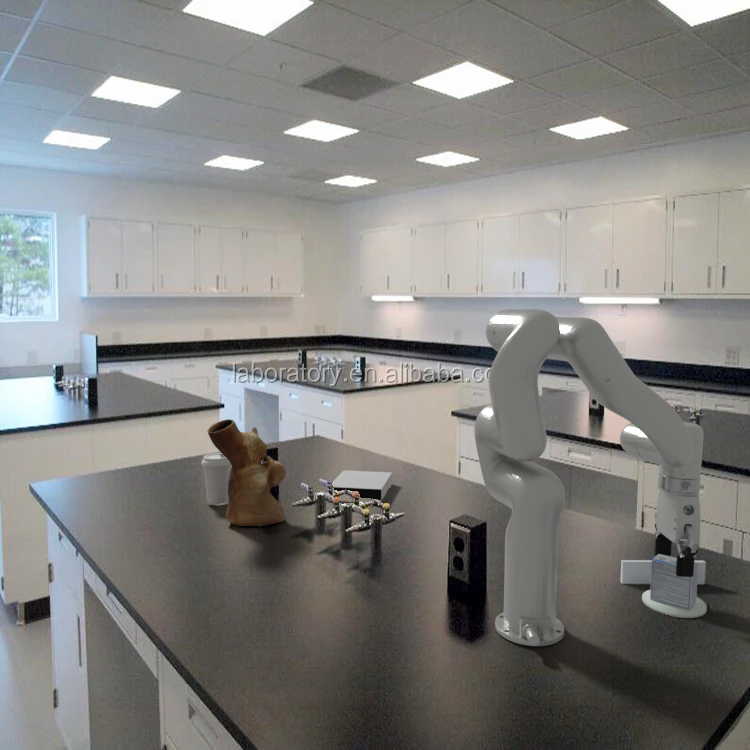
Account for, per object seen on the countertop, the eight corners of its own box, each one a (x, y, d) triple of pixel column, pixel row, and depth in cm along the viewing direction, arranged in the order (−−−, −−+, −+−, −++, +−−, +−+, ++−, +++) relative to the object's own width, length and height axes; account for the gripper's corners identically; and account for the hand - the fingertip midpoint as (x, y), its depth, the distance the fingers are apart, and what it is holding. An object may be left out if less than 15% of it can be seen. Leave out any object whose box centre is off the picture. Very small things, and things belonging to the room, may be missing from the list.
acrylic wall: (704, 584, 140) (705, 562, 139) (622, 583, 140) (622, 561, 139) (702, 582, 141) (703, 560, 140) (620, 581, 141) (621, 560, 140)
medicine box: (696, 603, 129) (698, 562, 128) (690, 611, 126) (692, 569, 125) (656, 592, 134) (657, 552, 133) (649, 599, 131) (651, 559, 130)
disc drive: (326, 502, 201) (325, 487, 200) (343, 483, 223) (343, 469, 222) (380, 505, 197) (380, 490, 197) (392, 486, 219) (392, 471, 219)
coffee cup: (229, 508, 194) (228, 459, 192) (198, 507, 194) (197, 459, 192) (237, 498, 203) (236, 452, 202) (207, 498, 203) (205, 452, 202)
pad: (718, 618, 124) (718, 615, 124) (656, 617, 124) (656, 615, 124) (689, 591, 136) (689, 588, 136) (632, 590, 136) (633, 588, 136)
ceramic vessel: (294, 523, 180) (293, 418, 177) (220, 538, 168) (217, 426, 165) (270, 508, 193) (269, 410, 190) (200, 522, 181) (197, 418, 178)
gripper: (720, 496, 119) (713, 584, 121) (677, 473, 136) (672, 551, 138) (680, 495, 119) (673, 583, 121) (642, 472, 136) (637, 550, 138)
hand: (672, 566), depth 129 cm, fingers open, 9 cm apart
